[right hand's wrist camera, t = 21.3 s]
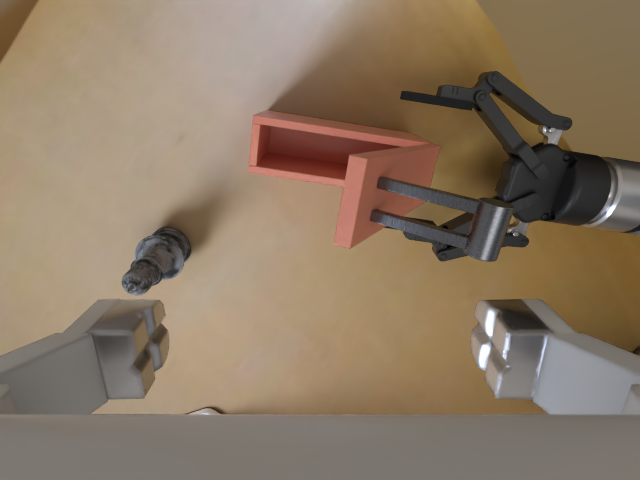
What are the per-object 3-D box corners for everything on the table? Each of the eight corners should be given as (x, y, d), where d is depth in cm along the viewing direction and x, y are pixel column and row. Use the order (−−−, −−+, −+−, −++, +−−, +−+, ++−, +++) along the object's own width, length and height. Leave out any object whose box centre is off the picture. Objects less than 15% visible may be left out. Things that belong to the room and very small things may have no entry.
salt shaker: (154, 218, 50) (107, 255, 39) (199, 237, 51) (164, 279, 40) (141, 257, 52) (92, 303, 41) (184, 274, 53) (147, 324, 41)
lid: (333, 243, 24) (484, 295, 20) (349, 154, 22) (518, 193, 18) (415, 198, 39) (510, 223, 35) (428, 143, 37) (530, 163, 33)
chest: (262, 156, 47) (248, 172, 38) (267, 109, 45) (253, 115, 36) (400, 177, 48) (419, 198, 39) (410, 132, 46) (432, 143, 37)
